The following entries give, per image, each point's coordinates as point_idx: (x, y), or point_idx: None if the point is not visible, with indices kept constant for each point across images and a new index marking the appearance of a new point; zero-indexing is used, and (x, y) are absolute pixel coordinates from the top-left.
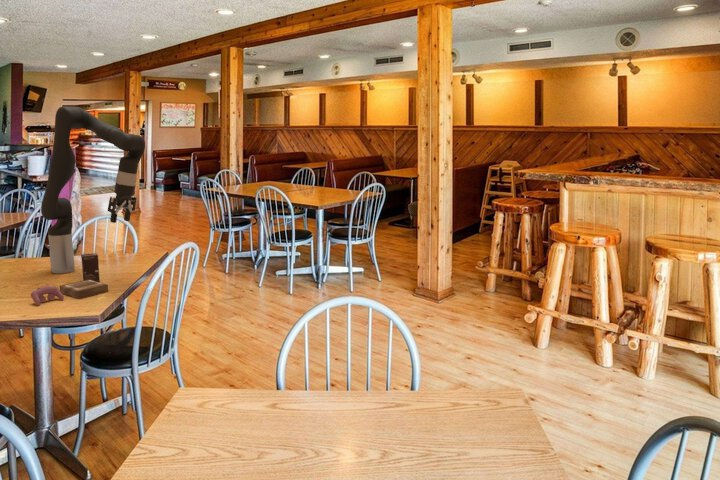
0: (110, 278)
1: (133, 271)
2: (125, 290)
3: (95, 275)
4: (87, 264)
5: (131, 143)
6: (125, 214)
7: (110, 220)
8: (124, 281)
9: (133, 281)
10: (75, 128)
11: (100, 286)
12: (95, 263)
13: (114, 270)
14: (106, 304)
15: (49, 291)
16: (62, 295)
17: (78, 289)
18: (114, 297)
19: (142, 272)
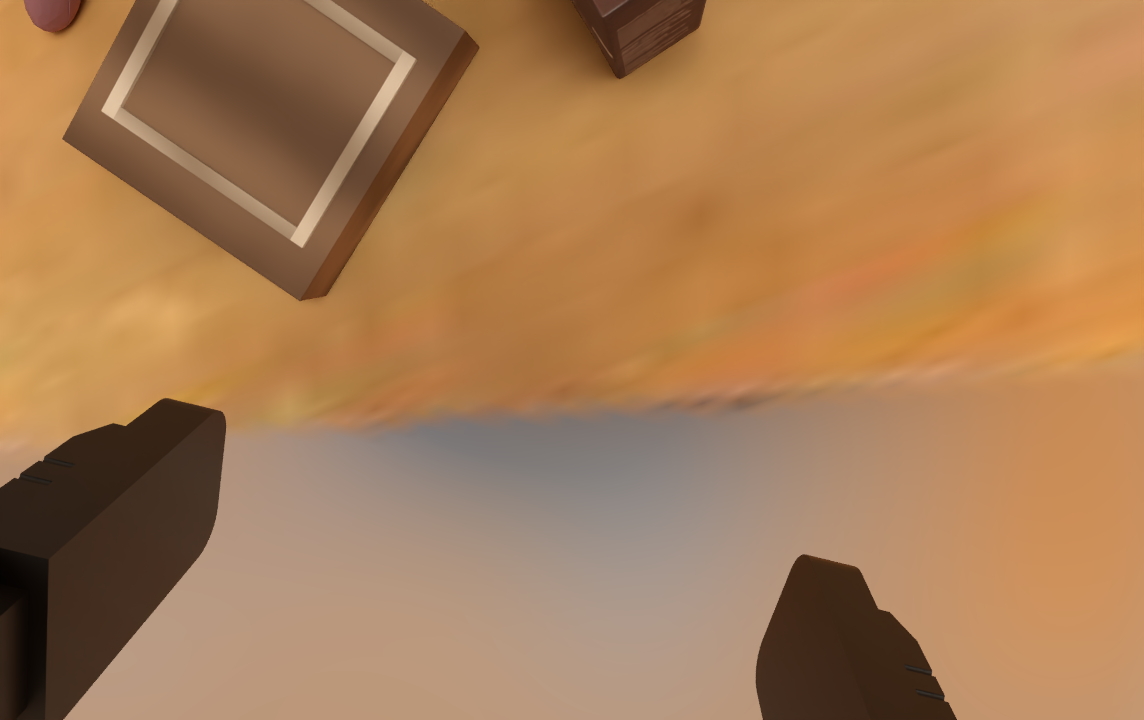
0: (773, 120)
1: (1067, 242)
2: (373, 424)
3: (595, 36)
4: None
5: None
6: (844, 699)
7: (100, 429)
8: (662, 303)
9: (663, 386)
10: None
11: (241, 259)
12: (589, 10)
13: (1125, 12)
14: (7, 423)
15: None
16: (32, 18)
17: (106, 115)
18: None
19: (1017, 351)
